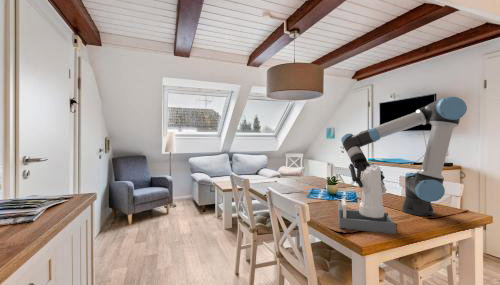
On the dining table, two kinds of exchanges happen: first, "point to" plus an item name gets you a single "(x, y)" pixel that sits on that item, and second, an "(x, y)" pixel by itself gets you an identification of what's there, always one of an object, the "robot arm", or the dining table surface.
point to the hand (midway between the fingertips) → (375, 192)
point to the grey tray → (365, 222)
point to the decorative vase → (372, 193)
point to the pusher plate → (343, 208)
